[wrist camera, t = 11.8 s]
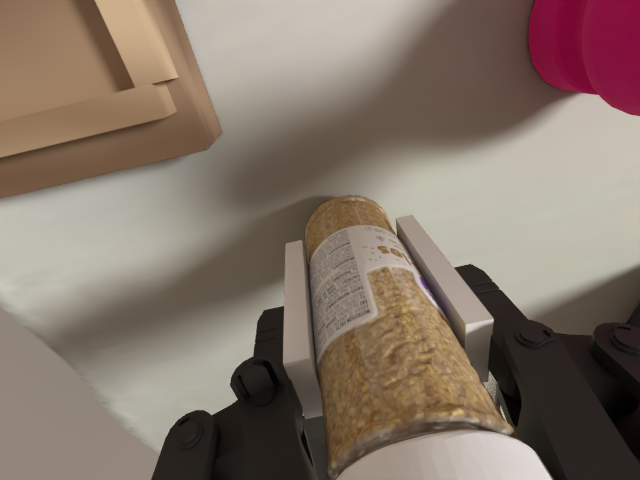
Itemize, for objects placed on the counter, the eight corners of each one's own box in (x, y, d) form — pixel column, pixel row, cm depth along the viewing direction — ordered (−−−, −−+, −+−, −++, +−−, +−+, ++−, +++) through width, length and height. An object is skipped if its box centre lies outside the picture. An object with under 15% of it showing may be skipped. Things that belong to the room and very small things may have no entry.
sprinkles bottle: (405, 229, 17) (662, 604, 5) (344, 281, 18) (440, 670, 7) (347, 172, 15) (544, 554, 3) (284, 235, 16) (271, 658, 5)
